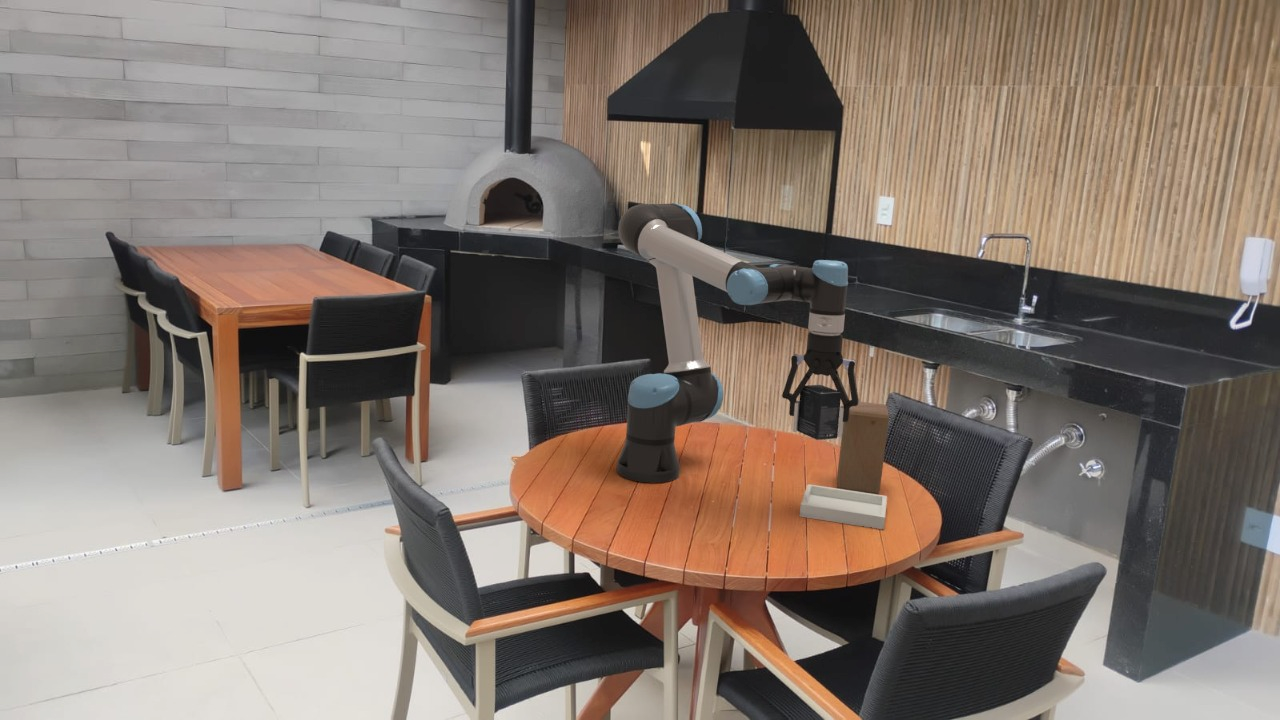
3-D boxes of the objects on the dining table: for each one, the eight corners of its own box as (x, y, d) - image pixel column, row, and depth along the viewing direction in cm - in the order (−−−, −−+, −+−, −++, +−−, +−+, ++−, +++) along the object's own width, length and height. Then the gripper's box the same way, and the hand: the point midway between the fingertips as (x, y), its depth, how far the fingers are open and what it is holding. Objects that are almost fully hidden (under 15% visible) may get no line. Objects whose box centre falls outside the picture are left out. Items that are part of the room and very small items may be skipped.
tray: (799, 516, 216) (800, 504, 215) (806, 495, 229) (807, 484, 228) (883, 529, 211) (885, 517, 211) (885, 507, 225) (887, 496, 224)
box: (838, 438, 215) (842, 391, 213) (816, 440, 213) (820, 393, 211) (817, 429, 222) (821, 383, 220) (796, 431, 220) (799, 385, 218)
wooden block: (879, 496, 232) (889, 414, 228) (836, 490, 234) (845, 409, 229) (878, 482, 242) (888, 403, 237) (836, 477, 243) (845, 399, 239)
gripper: (772, 330, 213) (765, 431, 217) (875, 339, 207) (866, 443, 211) (778, 325, 220) (771, 423, 224) (878, 334, 214) (869, 434, 218)
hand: (817, 432), depth 218 cm, fingers closed on box, 9 cm apart
